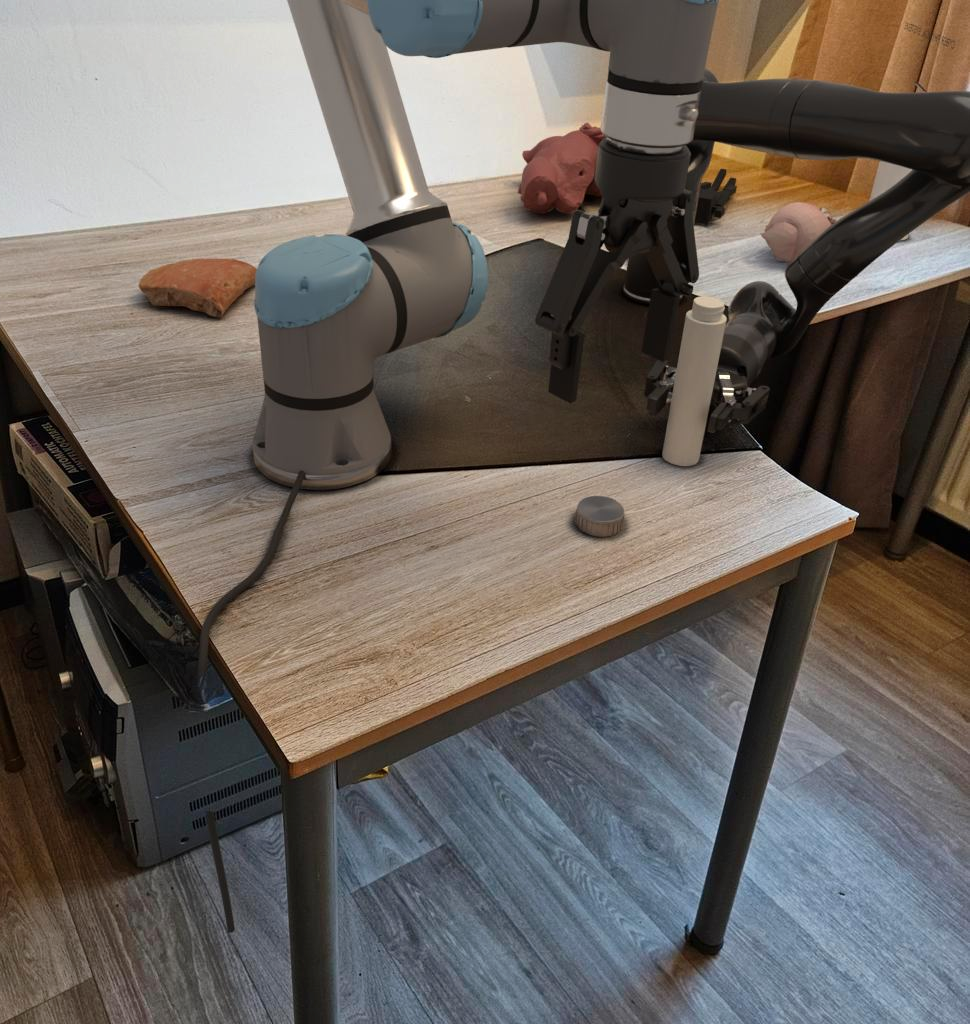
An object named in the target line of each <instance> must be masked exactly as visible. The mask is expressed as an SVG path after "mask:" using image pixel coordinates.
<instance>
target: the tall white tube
mask: <svg viewBox="0 0 970 1024" xmlns="http://www.w3.org/2000/svg"><path fill="white" fill-rule="evenodd" d="M904 30H905V31H907V32H910V33H912V32H913V34H915V33H916V34H917V35H918V36H921V37H923V38H924V37H925V39H928V40H930V41H931V40H932V41H933V42H937V40H938V44H939V43H940V44H942V45H943V46H946V47H947V48H948V47H949V49H950V48H951V49H952V50H953V49H954V48H955V45H956V40H954V39H951V38H948V37H946V36H942V37H941V34H938V35H937V33H934V32H933V31H931V30H926V29H923V34H921V31H922V27H920V26H918V25H915V24H912V23H909V22H908V21H907V22H905V26H904ZM927 33H928V35H927ZM940 37H941V38H940ZM940 39H941V42H940ZM945 39H946V40H945ZM944 42H945V43H944ZM952 43H954V44H953V46H952ZM913 84H914V85H915V86H916V87H917V88H919V90H920V91H921V92H928V91H927V90H926V89H925V88H924V87H923V86H922V85H921V84H920V83H919V82H918V81H915V80H914V82H913ZM911 171H912V169H909V168H906V167H902V166H898V165H894V164H890V163H886V162H882V161H879V163H878V166H877V170H876V174H875V177H874V182H873V185H872V189H871V193H870V196H869V201H871V200H872V199H874V198H876V197H877V196H879V195H880V194H882V193H883V192H885V191H886V190H888V189H889V188H891V187H892V186H894V185H895V184H896V183H897V182H899V181H900V180H901V179H902V178H904V177H905V176H906V175H907V174H908V173H909V172H911ZM869 201H868V202H869ZM909 236H910V233H909V234H908V235H906V236H905V237H904V238H902V239H901V240H900V241H905V240H907V239H909Z"/></svg>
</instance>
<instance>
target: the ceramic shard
mask: <svg viewBox="0 0 970 1024" xmlns="http://www.w3.org/2000/svg"><path fill="white" fill-rule="evenodd" d="M257 268H258V267H255V266H254V265H253V264H251V263H248V262H245V261H243V260H238V259H235V258H193V259H187V260H181V261H177V262H175V263H169V264H166V265H165V264H164V265H161V266H159V267H156V268H153V269H150V270H148V272H147V273H145V274H144V275H143V276H142V277H141V278H140V280H139V282H138V288H139V290H140V291H141V292H142V293H143V294H145V296H146V297H147V299H148V300H149V301H150V303H151V305H152V306H154V307H186V308H188V309H190V310H192V311H196V312H202V313H205V314H207V315H208V316H211V317H214V318H220V317H222V316H223V315H225V313H226V311H227V310H228V308H229V307H230V306H231V305H232V304H233V303H234V301H236V300H237V299H238V298H239V297H240V296H241V295H243V293H244V292H245V290H248V289H249V288H251V287H253V286H255V274H256V270H257Z"/></svg>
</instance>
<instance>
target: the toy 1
mask: <svg viewBox="0 0 970 1024" xmlns="http://www.w3.org/2000/svg"><path fill="white" fill-rule="evenodd" d="M727 171H728V170H727V169H726V168H720V169H719V171H718V173H717V175H716V177H715V178H714V180H713V182H710V181H704V182H701V186H700V192H699V198H698V204H697V211H696V217H695V223H694V224H699V225H706V226H707V225H709V223H711V221H712V220H713V218H716V219H722V217H723V216H724V215H725V212H726V204H727V203H728V201H729V199H730V198H731V197H732V196H734V195H735V194H736V193H737V188H738V185H736V182H737V177H732V176H731V177H730V178H729V179H728V180H727V182H726V183H725V185H724V187H723V188H722V190H719V189H720V188H721V186H722V184H723V181H724V180H725V178H726V176H727Z"/></svg>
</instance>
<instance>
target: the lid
mask: <svg viewBox="0 0 970 1024" xmlns="http://www.w3.org/2000/svg"><path fill="white" fill-rule="evenodd" d="M624 520H625V509H624V506H623V505H622V504H621V503H620V502H619V501H617V500H616V499H613V498H611V497H608V496H602V495H591V496H586V497H584V498H582V499H581V500H579V502H578V504H577V506H576V510H575V518H574V521H575V524H576V527H577V528H578V529H579V530H580V531H581V532H582V533H584V534H586V535H590V536H593V537H598V538H602V537H603V538H605V537H607V538H608V537H612V536H615V535H617V534H618V533H619V532H620V531H622V528H623V526H624Z"/></svg>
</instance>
